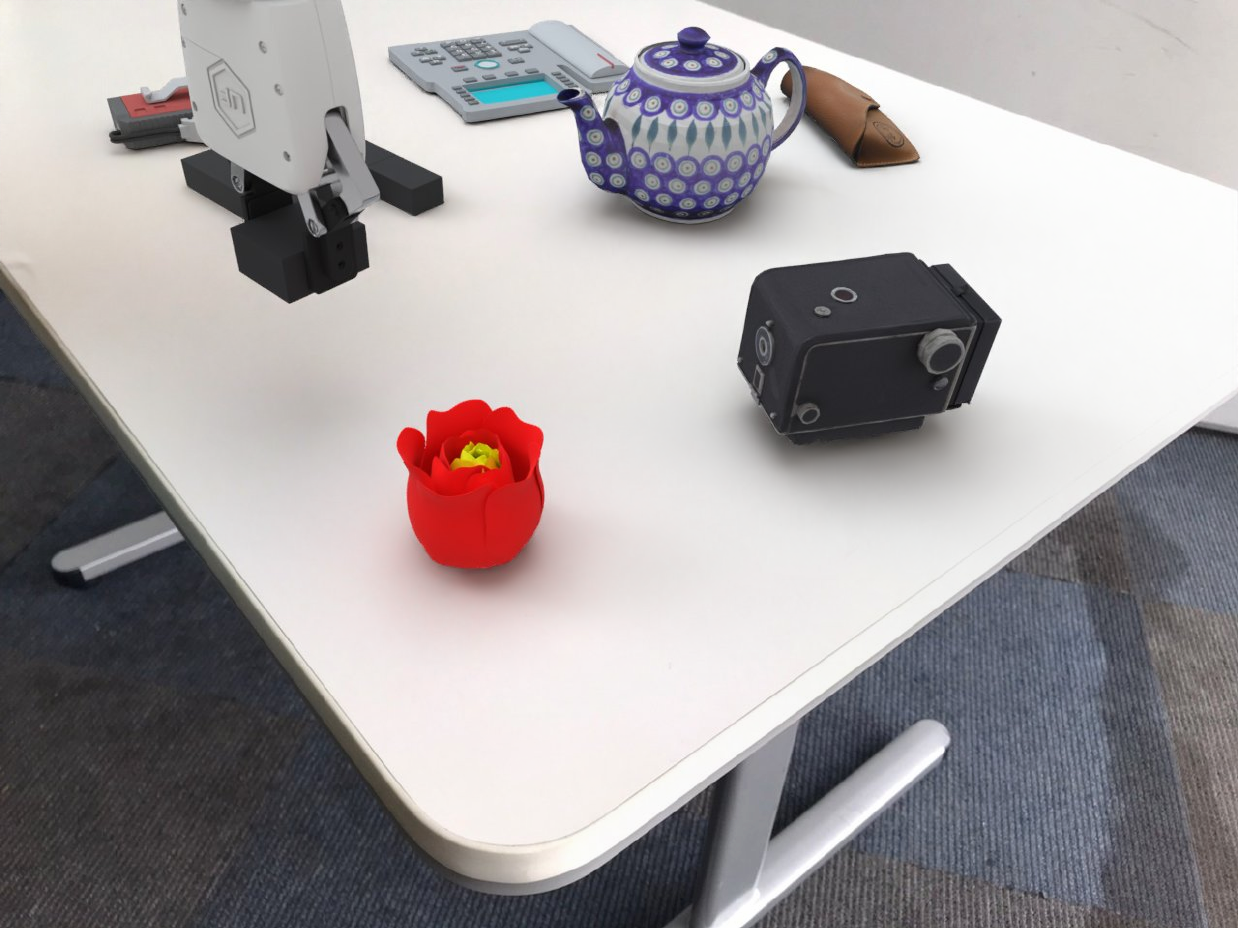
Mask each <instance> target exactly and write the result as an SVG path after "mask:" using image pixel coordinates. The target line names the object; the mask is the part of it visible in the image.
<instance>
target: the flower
mask: <svg viewBox="0 0 1238 928" xmlns="http://www.w3.org/2000/svg"><path fill="white" fill-rule="evenodd" d="M425 421H426V423H425V425H426V426H425V427H426V429H425V430H426V431H425V435H424V434H423V433H422V432H421V430H419V429H417V428H415V427H411V426H405V427H404V428H403V429H402V430H401V431H400V432H399V433H398V437H397V439H396V451H397V452H398V454H399V456H400V458H401V460H402V463H403V464H404V466H405V468H406V469H407V470H408V477H407V484H406V506H407V514H408V517H409V522H410V525H411V528H412V530H413V533H414V536H415V537H416V539H417V541H418V542H419V544H420V545H421V546H422V548H423V550H424V552H426V554H427V555H428V557H429V558H430V559H431V560H432V561H433V562H435V563H436V564H438V565H440V566H443V567H444V566H445V567H451V568H456V569H467V570H468V569H472V570H473V569H474V570H475V569H489V568H492V567H494V566H501V565H505V564H507V563H509V562H511V561H512V560H514V559H515V558H516V557H517V556H518V555H519V553H520V552H522V550H523V549H524V548H525V547H526V545H527V543H529V542H530V540H531V538H532V537H533V535H534V533H535V531H536V530H537V528H538V526H539V524H540V522H541V520H542V515H543V511H544V508H545V499H546V498H545V497H546V496H545V495H546V493H545V485H544V481H543V478H542V475H541V470H540V459H541V453H542V448H543V445H544V440H545V436H544V435H545V434H544V432H543V430H542V429H541V428H540V426H538V425H535V424H531V423H528V422H525V421H523V419H520V418H519V416H518V415H517V413H516V412H515V410H514V409H513V408H511V407H510V406H500V407H497V408H495V409H494V410H493V409H492V408H491V406H490V405H489V404H488V403H487V401H485V400H483V399H477V398H476V399H473V398H472V399H467V400H463V401H460V402H459V403H457V404H455V405H454V406H452V407H451V408H449V409H447V410H443V411H440V410H435V409H430V410H429V411H428V413H427V414H426V420H425Z"/></svg>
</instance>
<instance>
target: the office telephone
mask: <svg viewBox="0 0 1238 928" xmlns="http://www.w3.org/2000/svg"><path fill="white" fill-rule="evenodd" d="M387 53H388V55H387V56H388V59H389V60H390V61H391V62H392V63H393V64H394V65H396V66H397V68H399V69H400V70H401V71H402V72H403V73H404V74H405V75H407V77H408V78H410V79H411V80H412V81H413V82H414V83H415V84H416V85H417V86H418V87H420V88H421V89H423V90H424V91H425V92H428V93H435V94H436V95H438V96H439V97H441V98H442V99H443V100H444V101H445V102H446V103H448V104H449V105H450V106H451V107H452V108H453V109H454V110H455V111H456V112H458V114H460V115H461V116H462V120H463V121H464V122H467V123H476V122H481V121H482V122H483V121H488V120H496V119H501V118H507V117H513V116H514V117H515V116H520V115H521V116H522V115H526V114H533V113H539V112H546V111H552V110H557V109H564V108H569V107H568V106H566V105H564V104H562V103H560V102H558V101H557V99H556V97H557V95H558V93H559V92H561V91H562V90H564V89H568V88H573V87H577V88H581V89H582V90H584V91H586V92H587V93H588V94H589V96H590V97H591V98H592V99H593V97H592V96H593V94H597V93H604V92H605V93H606V92H609V90H610V88H611V86H612V85H613V84H614V82H615V81H616V80H617V79H618V78H619V77H621V76H622V75H623V74H624V73H625V72H627V71H628V70H629V69H630V68H631V67H630V66H628V65H627V64H625V63H624V62H623V61H622V60H620V59H618V58H617V57H615V55H614V54H613V53H611V52H610V51H609V50H608V49H606V48H605V47H604V46H602V45H600V44H599V43H597V42H596V41H594V40H593V39H592V38H591V37H589V36H588V35H587V34H585V33H584V32H582V31H581V30H580V29H578V28H577V27H576V26H574V25H573V24H566V23H565V22H564V21H561V20H557V19H549V20H542V21H539V22H537V23H535V24H533V25H531V26H530V27H529V29H524V30H523V29H521V30H516V31H507V32H499V33H491V34H490V33H489V34H483V35H476V36H467V37H460V38H451V39H443V40H435V41H428V42H427V41H426V42H416V43H408V44H401V45H399V44H398V45H391V46H387Z"/></svg>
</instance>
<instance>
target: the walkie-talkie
mask: <svg viewBox="0 0 1238 928" xmlns="http://www.w3.org/2000/svg"><path fill="white" fill-rule="evenodd" d="M139 90H140V93H139V92H138V93H132V94H126V95H119V96H114V97H108V98H106V101H107V105H108V107H109V111H110V112H109V113H110V115H111V118H112V122H113V125H114V127H115V130H112V131H110V132H109V133H108V138H109V141H110V142H111V144H114V145H115V144H116V145H122V144H124V146H125V148H128V149H133V150H140V149H146V148H151V147H152V148H153V147H157V146H164V145H169V144H174V143H176V144H177V143H180V142H191V143H192V142H193V143H203V144H205V143H204V142H203V141H202V140H201V138H200V137H199V135H198V133H197V129H196V125H195V121H194V116H193V111H192V106H191V101H190V95H189V89H188V83H187V77H186V76H180V77H174V78H171V79H170V80H169V81H168V82H167V83H166V84H165V85H164V86H162V87H161V88H160V89H159V90H152V91H151V89H150V88H149V87H148V86H140V88H139Z"/></svg>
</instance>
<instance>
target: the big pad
mask: <svg viewBox="0 0 1238 928" xmlns="http://www.w3.org/2000/svg"><path fill="white" fill-rule="evenodd" d="M365 163H366V165H367V167H368V169H369V171H370V173H371V175H372V177H373V179H374V181H375V183H376V185H377V186H378V188H379V191H380V200H383V201H384V202H386V203H389V204H390V205H393V206H394V207H395V208H398V209H400V210H401V211H403V212H406V213H408V214H410V215H412V216H417V215H419V214H422V213H424V212H426V211H430V210H431V209H433V208H435V207H438V206H441V205H442V204H444V203H445V198H444V197H445V196H444V185H443V184H444V183H443V175H442V176H441V175H440V174H438V173H436V172H433V171H431V170H429V169H427V168H425V167H423V166H420V165H419V164H417V163H414V162H413V161H410V160H409V159H407V158H404V157H402V156H400V155H398V154H396V153H395V152H392V151H390V150H388V149H386V148H383V147H381V146H379V145H377V144H375V143H373V142H371V141H369V140H367V139H365ZM180 164H181V167H182V172H183V176H184V180H185V184H186V186H187V187H188V188H190V189H192V190H193V191H195V192H197V193H199V194H200V195H202V196H204V197H205V198H207V199H209V200H211V201H212V202H214V203H216V204H217V205H219V206H220V207H223V208H224V209H226V210H227V211H230V212H231V213H233V214H235V215H236V216H238V217H240V218H241V219H242V220H244V217H243V211H242V206H241V201H240V196H242V195H245V192H244V193H239V192H238V191H237V190H236V189H235V187H234V186H233V183H232V180H231V165H230V163H229V162H228V160H227V158H225V157H223V156H222V155H220V154H218V153H217V152H215V151H214V150H212V149H211V148H209V149H207V150H203V151H201V152H197V153H194V154H191V155H189V156H187V157H186V156H185V157H183V158H181V159H180ZM325 169H327V165H326V162H325V166H324V170H325ZM315 191H316V193H317V196H318V199H320V200H322V201H324V202H326V203H327V202H328V201H329V200H330V199H332V198H334V197H333V193H332V190H331V187H330V185H328V186H325V187H323V188H320V189H317V190H315ZM292 198H293V203H295V202H298V201H299V200H298V196H297V195H295V194H292Z"/></svg>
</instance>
